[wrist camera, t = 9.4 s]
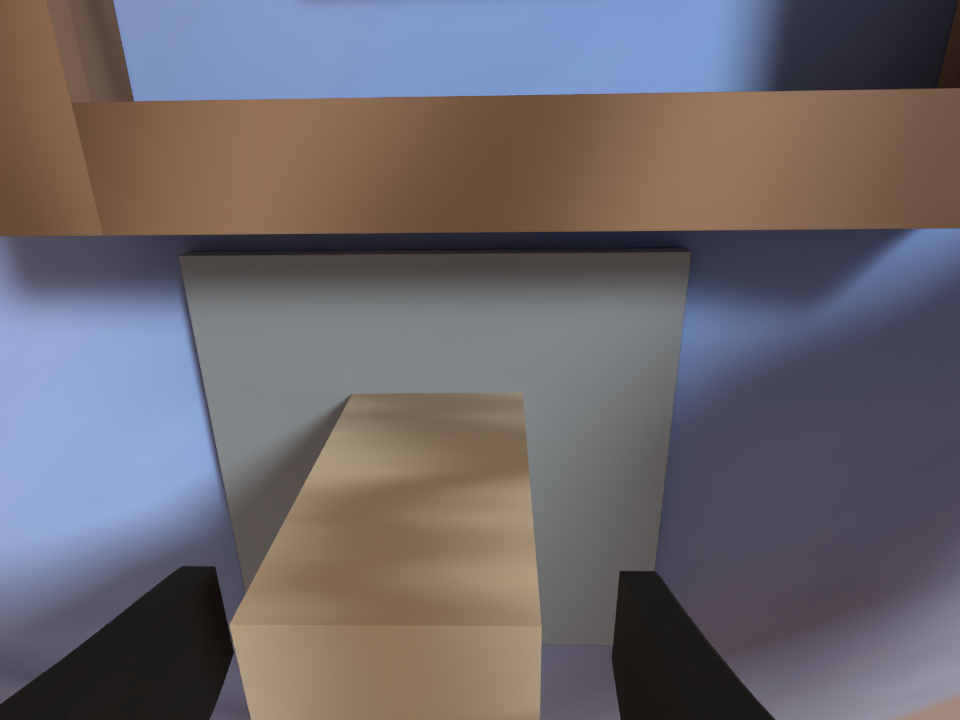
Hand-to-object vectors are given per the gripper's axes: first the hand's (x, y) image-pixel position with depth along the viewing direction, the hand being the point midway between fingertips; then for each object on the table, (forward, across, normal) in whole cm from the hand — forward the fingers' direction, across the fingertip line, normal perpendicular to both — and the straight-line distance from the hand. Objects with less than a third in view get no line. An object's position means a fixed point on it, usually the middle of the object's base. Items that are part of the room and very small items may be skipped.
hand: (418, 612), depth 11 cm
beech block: (+4, 0, 0) cm, 5 cm away
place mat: (+5, 0, 0) cm, 5 cm away
